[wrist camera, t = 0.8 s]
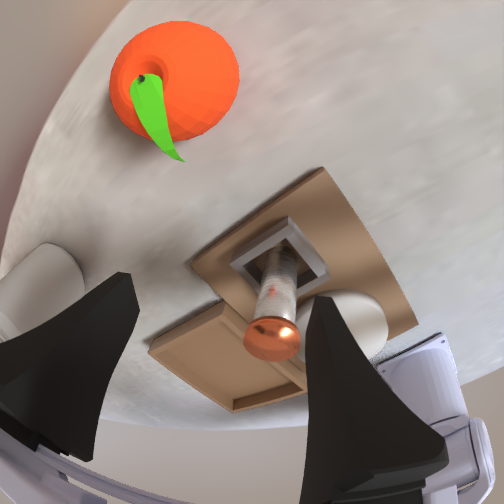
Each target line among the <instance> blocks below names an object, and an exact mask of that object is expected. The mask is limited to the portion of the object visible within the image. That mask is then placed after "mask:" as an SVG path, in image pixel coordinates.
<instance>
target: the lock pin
mask: <svg viewBox="0 0 504 504" xmlns="http://www.w3.org/2000/svg"><path fill="white" fill-rule="evenodd" d="M296 292H297V255H296V253H295V252H294V251H293V250H292V249H290V248H288V247H286V246H277V247H274V248H272V249H271V250H270V251H269V252H268V253H267V256H266V260H265V265H264V271H263V276H262V281H261V286H260V291H259V296H258V301H257V306H256V310H255V315H254V320H252V321H251V322H250V323H249V324H248V325H247V327H246V329H245V334H244V338H243V344H244V347H245V349H246V350H247V351H248V352H249V353H250V354H251V355H252V356H254V357H256V358H258V359H261V360H264V361H270V362H278V361H284V360H287V359H290V358H292V357H293V356H294V355H296V354H297V352H298V351H299V349H300V338H301V334H300V331H299V329H298V327H297V326H296V325H295V317H296Z"/></svg>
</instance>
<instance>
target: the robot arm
mask: <svg viewBox="0 0 504 504" xmlns="http://www.w3.org/2000/svg"><path fill="white" fill-rule="evenodd" d="M139 312H140V309H139V305H138V301H137V298H136V294H135V290H134V286H133V282H132V278H131V274H129V273H122V272H117V273H115V274H114V275H112V276H111V277H109V278H108V279H107V280H105V281H104V282H102V283H101V284H100V285H98V286H97V287H96V288H94V289H93V290H91V291H90V292H89V293H87V294H86V295H85V296H83V297H82V298H81V299H79V300H78V301H76V302H75V303H74V304H72V305H71V306H69V307H68V308H66V309H65V310H63V311H62V312H61V313H59V314H58V315H56V316H54V317H53V318H51V319H50V320H48V321H46V322H44V323H43V324H41V325H39V326H37V327H35V328H33V329H31V330H29V331H27V332H25V333H23V334H21V335H19V336H17V337H15V338H12V339H10V340H7V341H5V342H2V343H0V489H1V490H2V491H3V492H4V493H5V494H6V495H7V496H8V497H9V498H10V499H11V500H12V501H13V502H14V503H15V504H107V500H106V499H104V498H101V497H99V496H97V495H95V494H93V493H91V492H88V491H86V490H84V489H82V488H80V487H77V486H75V485H73V484H71V483H69V481H68V479H67V476H66V475H68V476H70V477H71V478H73V479H75V480H77V481H79V482H81V483H84V484H85V485H88V486H90V487H92V488H94V489H97V490H99V491H101V492H103V493H106V494H108V495H111V496H113V497H116V498H118V499H121V500H124V501H126V502H129V503H132V504H194V503H189V502H184V501H180V500H176V499H172V498H168V497H164V496H160V495H157V494H153V493H150V492H146V491H144V490H140V489H137V488H134V487H131V486H129V485H126V484H123V483H120V482H118V481H115V480H112V479H110V478H107V477H105V476H103V475H100V474H98V473H95V472H93V471H91V470H89V469H87V468H84V467H82V466H80V465H78V464H76V463H74V462H72V461H70V460H68V459H66V458H64V457H62V456H60V452H61V453H63V454H64V455H66V456H69V454H70V455H72V456H74V457H76V458H78V459H80V460H82V461H84V462H89V461H91V460H92V459H93V451H94V443H95V436H96V430H97V425H98V419H99V415H100V411H101V407H102V404H103V400H104V397H105V393H106V390H107V387H108V384H109V381H110V378H111V376H112V374H113V371H114V369H115V367H116V365H117V363H118V361H119V359H120V357H121V355H122V353H123V351H124V349H125V347H126V344H127V342H128V340H129V338H130V336H131V334H132V332H133V330H134V327H135V324H136V321H137V318H138V315H139ZM305 364H306V377H307V390H308V404H309V420H308V437H307V450H306V460H305V469H304V477H303V484H302V490H301V496H300V502H299V504H481V502H482V501H483V500H484V499H485V498H486V497H487V495H488V494H489V493H490V491H491V490H492V488H493V484H494V482H495V471H494V459H493V452H492V447H491V443H490V439H489V436H488V432H487V429H486V427H485V424H484V422H483V420H482V419H478V418H476V417H475V418H473V419H470V418H469V416H468V412H467V409H466V405H465V402H464V399H463V395H462V392H461V389H460V386H459V383H458V380H457V377H456V375H457V373H458V371H457V368H456V364H455V361H454V358H453V355H452V352H451V349H450V346H449V343H448V340H447V338H446V335H445V334H444V333H442V334H439V335H438V336H436V337H434V338H432V339H430V340H429V341H427V342H425V343H423V344H421V345H419V346H417V347H415V348H413V349H411V350H409V351H407V352H405V353H403V354H401V355H399V356H397V357H395V358H393V359H391V360H389V361H386V362H384V363H382V364H380V365H378V366H377V370H378V372H379V373H380V374H381V376H382V377H383V378H384V379H385V380H386V382H387V383H388V384H389V385H390V387H391V388H392V390H391V389H390V387H389V386H388V385H387V384H386V383H385V381H384V380H383V379H382V378H381V376H380V375H379V374H378V373H377V371H376V370H375V369H374V367H373V366H372V364H371V363H370V362H369V360H368V359H367V357H366V356H365V354H364V353H363V351H362V350H361V348H360V346H359V345H358V343H357V341H356V340H355V338H354V336H353V335H352V333H351V331H350V330H349V328H348V326H347V324H346V323H345V321H344V319H343V317H342V315H341V313H340V312H339V310H338V308H337V306H336V304H335V302H334V300H333V298H332V297H326V296H315V299H314V303H313V307H312V310H311V314H310V318H309V322H308V325H307V329H306V334H305ZM65 474H66V475H65ZM476 480H478V481H477V482H476V483H474V484H472V485H471V486H469V487H466V488H464V489H462V490H459V491H457V489H458V488H460V487H462V486H464V485H467V484H469V483H471V482H473V481H476Z"/></svg>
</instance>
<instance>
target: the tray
mask: <svg viewBox="0 0 504 504" xmlns="http://www.w3.org/2000/svg"><path fill="white" fill-rule="evenodd" d="M248 324H249V323H248V322H247V321H246V320H245V319H244V318H243V317H242V316H241V315H240V314H239V313H238V312H237V311H236V310H235V309H233V308H232V307H231V306H230V305H229V304H228V303H227V302H226V301H225V300H223V301H221V302H220V303H218V304H216V305H214V306H213V307H211V308H209V309H207V310H206V311H204V312H202V313H201V314H199V315H197V316H195V317H193V318H192V319H190V320H188V321H186V322H185V323H183V324H181V325H179V326H178V327H176V328H174V329H172V330H170V331H169V332H167V333H165V334H163V335H162V336H160V337H158V338H156V339H154V341H153V343H152V345H151V347H150V349H149V351H148V354H149V355H150V356H152V357H153V358H154V359H155V360H157V361H158V362H159V363H161V364H162V365H163V366H164V367H166V368H167V369H168V370H170V371H171V372H172V373H174V374H175V375H176V376H178V377H179V378H181V379H182V380H183V381H185V382H186V383H187V384H189V385H190V386H192V387H193V388H195V389H196V390H197V391H199V392H200V393H202V394H203V395H205V396H206V397H208V398H209V399H211V400H212V401H214V402H215V403H217V404H219V405H220V406H222V407H223V408H225V409H226V410H228V411H230V412H231V413H236V412H240V411H245V410H249V409H253V408H257V407H260V406H264V405H268V404H272V403H275V402H279V401H282V400H285V399H289V398H292V397H295V396H298V395H302V394H305V393H308V390H307V377H306V374H305V373H304V372H303V371H302V370H300V369H299V368H298V367H297V366H296V365H295V364H294V363H292V362H291V361H290V360H289V359H287V360H284V361H278V362H270V361H264V360H261V359H258V358H256V357H254V356H252V355H251V354H250V353H249V352H248V351H247V350H246V349H245V347H244V344H243V338H244V334H245V329H246V327H247V325H248Z"/></svg>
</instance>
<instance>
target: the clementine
mask: <svg viewBox="0 0 504 504" xmlns="http://www.w3.org/2000/svg"><path fill="white" fill-rule="evenodd" d="M239 81H240V80H239V66H238V63H237V60H236V58H235V55H234V53H233V50H232V48H231V47H230V46H229V44H228V43H227V42H226V41H225V39H224V38H223V37H222V36H221V35H219V34H218V33H216V32H215V31H213V30H212V29H210V28H209V27H206V26H203V25H199V24H196V23H192V22H188V21H170V22H166V23H162V24H159V25H155V26H153V27H150V28H148V29H146V30H145V31H143V32H141V33H139V34H138V35H136V36H135V37H134V38H133V39H131V40H130V41H129V42H128V43H127V44H126V45H125V46H124V48H123V49H122V51H121V52H120V54H119V55H118V57H117V58H116V60H115V63H114V66H113V68H112V71H111V76H110V84H109V89H110V98H111V102H112V105H113V108H114V110H115V113H116V114H117V115H118V117H119V118H120V120H121V121H122V123H123V124H125V125H126V126H127V127H128V128H130V129H131V130H132V131H133V132H135V133H137V134H138V135H141V136H143V137H145V138H148V139H150V140H154V142H155V143H156V144H157V145H158V146H159V147H160V148H161V150H162V151H163V152H165V153H166V154H167V155H169V156H170V157H172V158H173V159H176V160H179V161H183V162H185V161H184V160H183V159H181V158H180V157H179V155H178V153H177V152H176V150H175V148H174V145H173V142H172V141H181V140H188V139H191V138H193V137H196V136H199V135H201V134H203V133H205V132H206V131H208V130H209V129H210V128H212V127H213V126H215V125H216V124H217V123H218V122H219V121H220V120H221V119H222V117H223V116H224V115H225V114H226V113H227V112H228V111H229V109H230V107H231V105H232V103H233V101H234V99H235V97H236V95H237V90H238V86H239Z"/></svg>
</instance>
